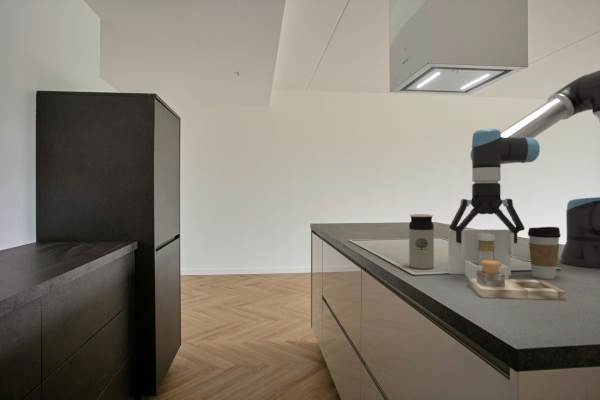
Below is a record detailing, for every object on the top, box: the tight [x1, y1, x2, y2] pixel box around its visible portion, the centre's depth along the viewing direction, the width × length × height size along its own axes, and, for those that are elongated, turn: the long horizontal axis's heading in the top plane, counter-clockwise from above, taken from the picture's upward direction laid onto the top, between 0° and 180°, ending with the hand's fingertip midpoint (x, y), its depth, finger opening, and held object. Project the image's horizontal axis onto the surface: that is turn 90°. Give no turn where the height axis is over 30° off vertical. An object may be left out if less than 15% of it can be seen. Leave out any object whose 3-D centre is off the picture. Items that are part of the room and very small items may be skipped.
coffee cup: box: [527, 226, 562, 280], centre depth 117 cm, size 8×8×15 cm
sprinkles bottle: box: [478, 233, 495, 266], centre depth 114 cm, size 5×5×13 cm
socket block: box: [467, 270, 567, 301], centre depth 99 cm, size 19×12×5 cm, turn 81°
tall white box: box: [447, 228, 512, 279], centre depth 116 cm, size 18×12×14 cm, turn 81°
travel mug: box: [408, 213, 435, 270], centre depth 133 cm, size 8×8×18 cm
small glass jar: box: [481, 260, 500, 274], centre depth 100 cm, size 4×4×5 cm
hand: (486, 254), depth 114 cm, fingers open, 13 cm apart
